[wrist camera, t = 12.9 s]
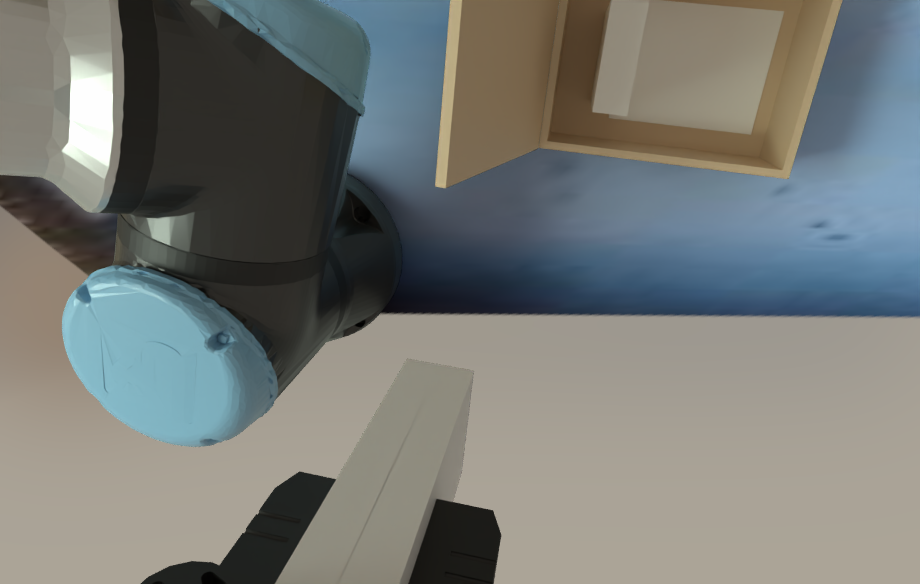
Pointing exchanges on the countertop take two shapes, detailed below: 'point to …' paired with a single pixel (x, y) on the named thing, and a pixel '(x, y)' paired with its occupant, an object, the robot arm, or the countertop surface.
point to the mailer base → (687, 80)
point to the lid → (493, 84)
